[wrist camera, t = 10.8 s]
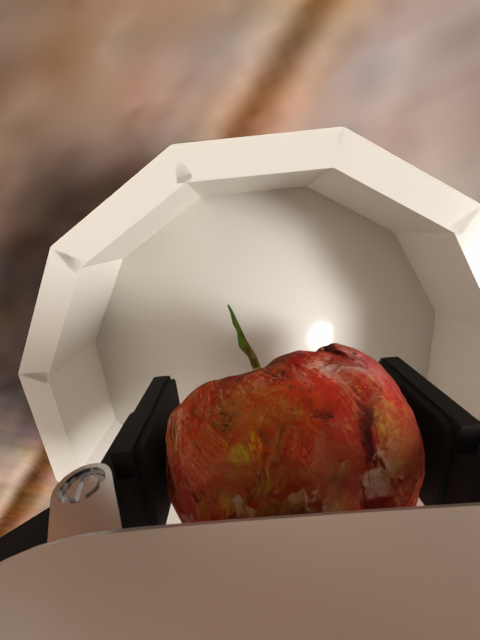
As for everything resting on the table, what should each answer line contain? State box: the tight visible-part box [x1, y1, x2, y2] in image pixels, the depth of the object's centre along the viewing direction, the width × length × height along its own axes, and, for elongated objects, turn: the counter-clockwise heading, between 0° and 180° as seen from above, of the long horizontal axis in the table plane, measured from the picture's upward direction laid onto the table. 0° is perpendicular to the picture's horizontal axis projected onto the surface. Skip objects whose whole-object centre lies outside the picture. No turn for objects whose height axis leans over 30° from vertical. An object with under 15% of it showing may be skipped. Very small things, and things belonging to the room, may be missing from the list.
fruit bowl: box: [18, 127, 480, 524], centre depth 13 cm, size 18×18×4 cm
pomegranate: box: [165, 304, 425, 523], centre depth 9 cm, size 7×7×10 cm
